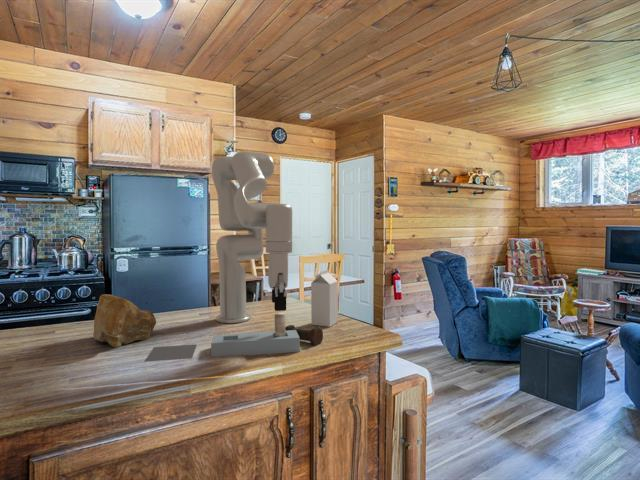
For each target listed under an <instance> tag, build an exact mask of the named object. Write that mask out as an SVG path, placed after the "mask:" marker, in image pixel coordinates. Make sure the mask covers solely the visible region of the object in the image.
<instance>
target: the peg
mask: <svg viewBox="0 0 640 480" xmlns="http://www.w3.org/2000/svg"><path fill="white" fill-rule="evenodd" d="M285 327H286V313H285V312H277V313H274V331H275V337H284V336H285Z"/></svg>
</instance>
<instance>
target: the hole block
mask: <svg viewBox="0 0 640 480" xmlns="http://www.w3.org/2000/svg"><path fill="white" fill-rule="evenodd" d="M300 341H301V340H300V337H299V335H298V333H297V331H296V330H287V331H285V336H284V337H275V330H273V331H259V332H257V331H255V332H244V333H241V332H240V333H239V332H238V333H226V334H213V335H212V338H211V342H210V350H211V351H210V352H211V355H210V356H211V357H212V358H213V357H215V358H216V357H224V356H225V357H226V356H238V355H239V356H240V355H241V356H243V355H245V356H257V355H259V356H261V355H270V354H271V355H272V354H284V353H298V352H299V353H300V351H301V349H300V348H301V347H300V346H301V345H300V343H301V342H300Z"/></svg>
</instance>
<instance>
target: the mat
mask: <svg viewBox="0 0 640 480" xmlns="http://www.w3.org/2000/svg"><path fill="white" fill-rule="evenodd" d="M197 345H198V344H184V345H183V344H182V345H167V346H154V347H153V348H152V350H151V351H150V352H149V354H148V355H147V357H146V358H145V360H144V362H145V363H146V362H159V361H171V360H185V359H186V360H187V359H193V357H194V354H195V351H196V348H197Z"/></svg>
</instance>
